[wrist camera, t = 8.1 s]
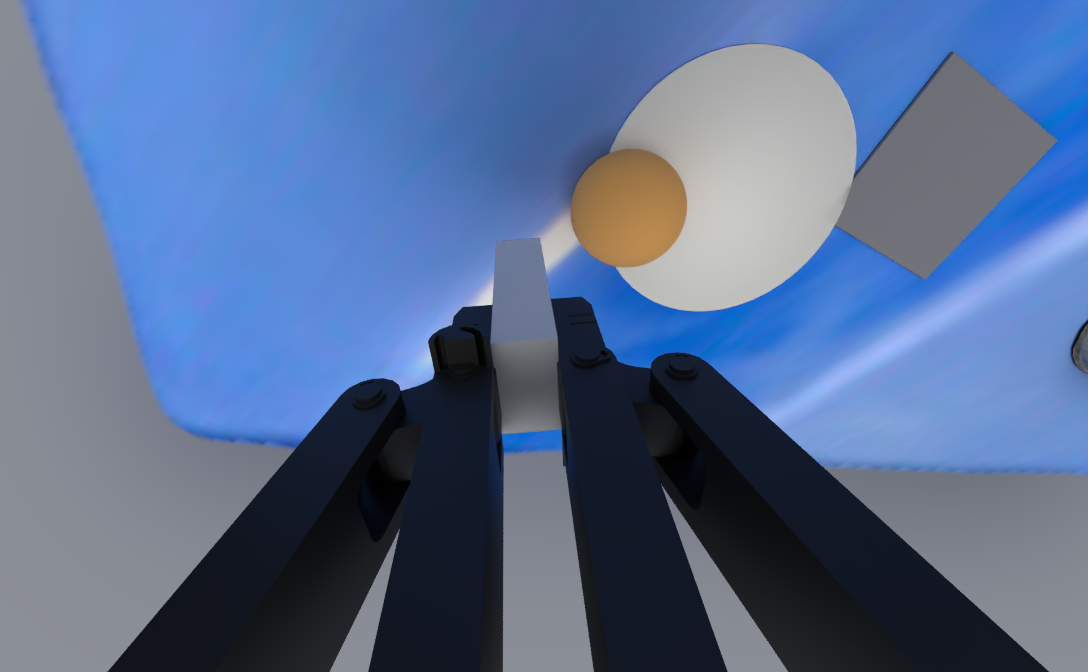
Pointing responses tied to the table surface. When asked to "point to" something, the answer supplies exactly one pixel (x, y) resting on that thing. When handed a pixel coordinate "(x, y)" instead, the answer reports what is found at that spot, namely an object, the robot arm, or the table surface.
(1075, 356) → the spray can
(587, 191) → the ball
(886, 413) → the table surface
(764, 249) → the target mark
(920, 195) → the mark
